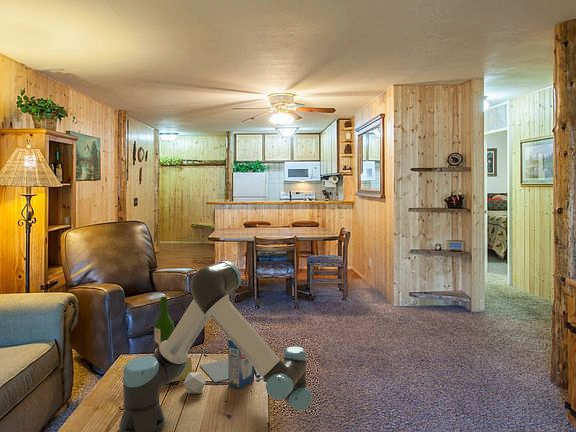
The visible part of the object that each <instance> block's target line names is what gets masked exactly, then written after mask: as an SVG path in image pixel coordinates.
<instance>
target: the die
mask: <svg viewBox="0 0 576 432" xmlns="http://www.w3.org/2000/svg"><path fill="white" fill-rule="evenodd" d="M205 385H206V380H205V377H204V375H203V373H202V372H200V371H199V372H197V371H195V372H189V374H188V376H187V377H186V379H185V380H183V386H184V389H185V390H186V393H187V394H188V395H195V394H196V395H197V394H199V395H201V393H202V392H203V389H204V387H205Z"/></svg>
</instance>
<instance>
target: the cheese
mask: <svg viewBox="0 0 576 432" xmlns="http://www.w3.org/2000/svg"><path fill="white" fill-rule="evenodd" d="M192 365H193V362H192V358H191V355H189V354H188V359H187V364H186V367H185V369H184V370H183V371H182V373H181V374H180V375H179V376H177V377H176V378H174V379H173V380H171V381H170V382H169V383H168V384H170V383H174V381H175V382H179V381H185V379H186V377H187V376H188V374H189V372H192V371H193V370H192V369H193V366H192Z"/></svg>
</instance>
